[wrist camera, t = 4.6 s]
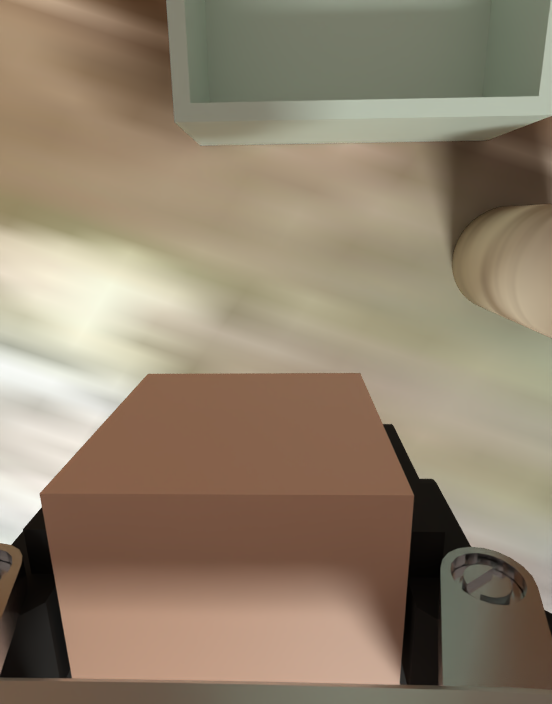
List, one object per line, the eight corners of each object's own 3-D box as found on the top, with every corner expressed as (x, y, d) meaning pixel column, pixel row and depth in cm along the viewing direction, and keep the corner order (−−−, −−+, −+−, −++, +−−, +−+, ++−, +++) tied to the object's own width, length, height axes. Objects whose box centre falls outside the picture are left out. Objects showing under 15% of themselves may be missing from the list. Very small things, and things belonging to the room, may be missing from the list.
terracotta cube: (359, 372, 11) (413, 495, 6) (353, 553, 12) (392, 768, 8) (147, 373, 11) (39, 493, 6) (165, 551, 13) (86, 760, 8)
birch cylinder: (562, 205, 22) (684, 199, 16) (547, 308, 24) (653, 344, 17) (456, 206, 22) (532, 201, 16) (447, 310, 24) (513, 346, 17)
